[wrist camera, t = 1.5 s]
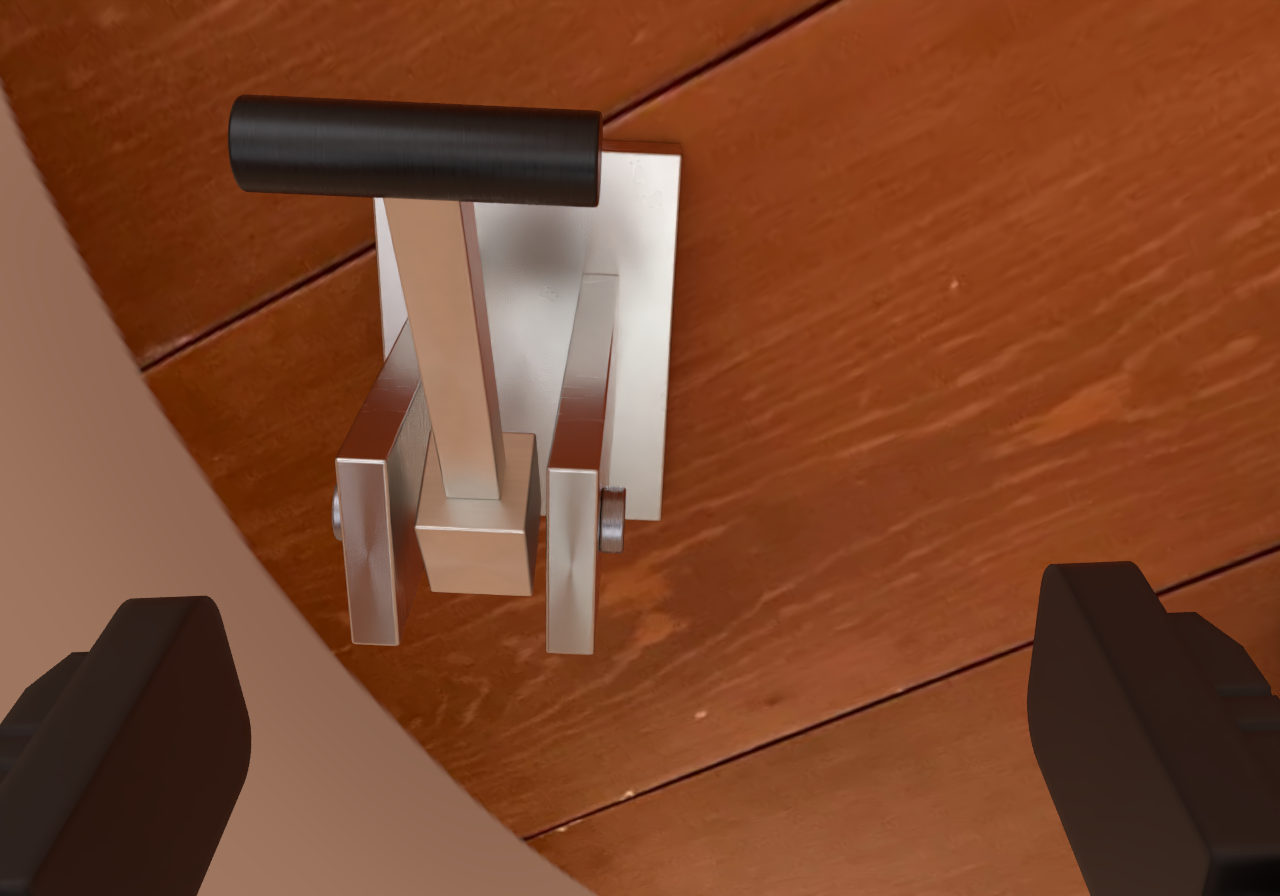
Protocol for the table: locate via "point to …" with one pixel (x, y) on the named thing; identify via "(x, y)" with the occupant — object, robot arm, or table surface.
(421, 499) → the lever
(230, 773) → the robot arm
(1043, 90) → the table surface
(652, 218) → the bracket
